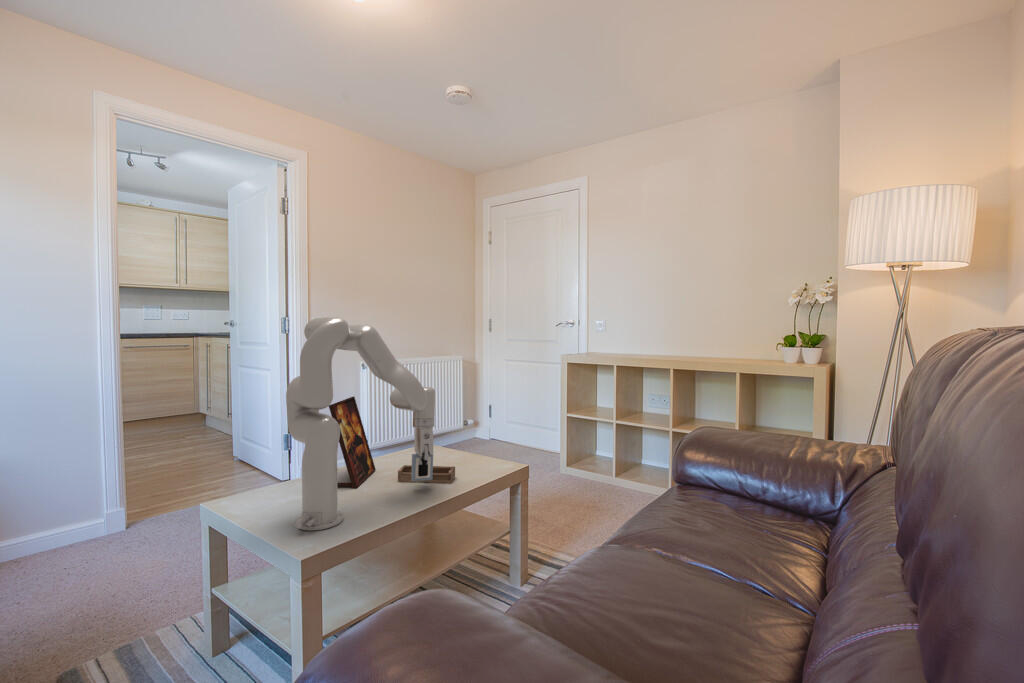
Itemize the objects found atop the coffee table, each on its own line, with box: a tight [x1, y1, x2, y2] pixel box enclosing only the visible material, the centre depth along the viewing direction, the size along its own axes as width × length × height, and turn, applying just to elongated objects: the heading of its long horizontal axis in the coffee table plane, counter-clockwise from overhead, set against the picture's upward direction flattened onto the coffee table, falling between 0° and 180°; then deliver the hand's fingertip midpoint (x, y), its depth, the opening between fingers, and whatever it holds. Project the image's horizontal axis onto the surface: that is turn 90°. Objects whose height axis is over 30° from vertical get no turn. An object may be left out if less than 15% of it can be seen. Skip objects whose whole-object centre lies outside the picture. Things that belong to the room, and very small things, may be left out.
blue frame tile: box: [411, 453, 434, 481], centre depth 162 cm, size 2×7×9 cm, turn 114°
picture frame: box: [328, 395, 377, 489], centre depth 173 cm, size 21×11×30 cm, turn 179°
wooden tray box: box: [397, 464, 456, 484], centre depth 173 cm, size 7×20×4 cm, turn 84°
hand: (421, 474), depth 162 cm, fingers closed on blue frame tile, 2 cm apart
